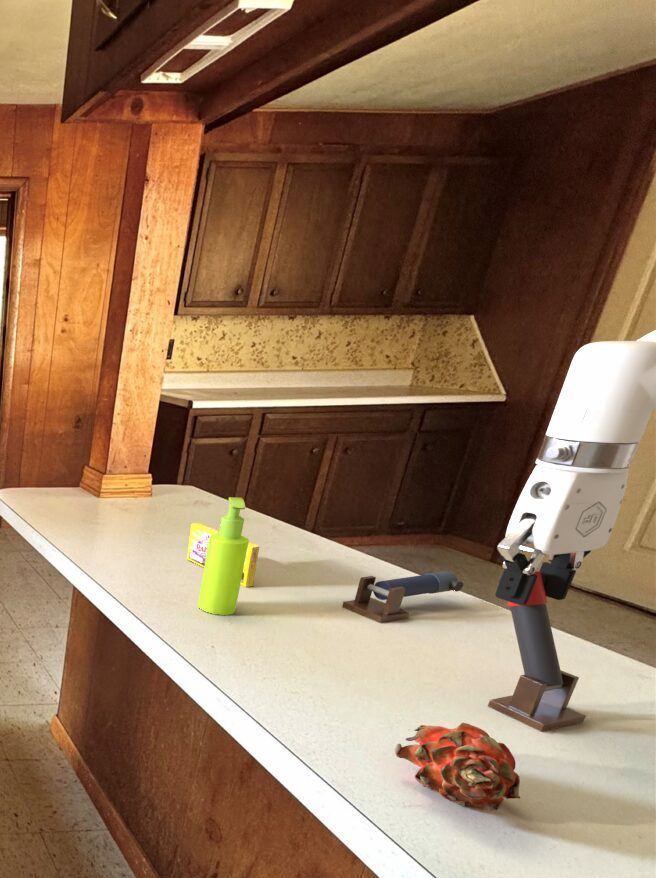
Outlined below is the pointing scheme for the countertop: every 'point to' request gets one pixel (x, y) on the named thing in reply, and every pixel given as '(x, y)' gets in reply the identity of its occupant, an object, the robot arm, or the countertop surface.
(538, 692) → the holder
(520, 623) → the red marker
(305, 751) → the countertop surface
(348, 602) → the holder
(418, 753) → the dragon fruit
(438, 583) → the navy marker
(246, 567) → the candy box
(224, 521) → the soap dispenser
